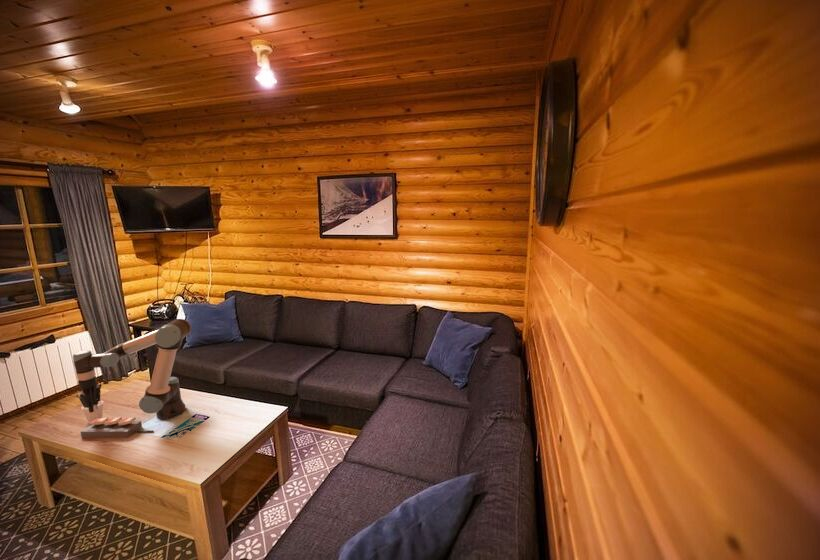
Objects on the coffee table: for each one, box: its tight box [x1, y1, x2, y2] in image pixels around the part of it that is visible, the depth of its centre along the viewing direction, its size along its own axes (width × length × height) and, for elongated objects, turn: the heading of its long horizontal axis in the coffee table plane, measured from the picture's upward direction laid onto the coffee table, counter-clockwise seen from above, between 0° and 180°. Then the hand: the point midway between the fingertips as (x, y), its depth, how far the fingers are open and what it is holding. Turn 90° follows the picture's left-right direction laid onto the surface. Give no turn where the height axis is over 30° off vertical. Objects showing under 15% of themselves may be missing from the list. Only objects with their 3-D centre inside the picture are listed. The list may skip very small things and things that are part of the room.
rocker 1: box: [89, 417, 110, 426], centre depth 192 cm, size 7×4×2 cm, turn 90°
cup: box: [80, 399, 104, 424], centre depth 202 cm, size 10×10×11 cm
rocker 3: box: [118, 416, 137, 426], centre depth 192 cm, size 7×4×2 cm, turn 90°
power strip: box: [80, 420, 155, 439], centre depth 191 cm, size 36×10×5 cm, turn 90°
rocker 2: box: [104, 416, 123, 426], centre depth 192 cm, size 7×4×2 cm, turn 90°
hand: (94, 415), depth 192 cm, fingers closed
